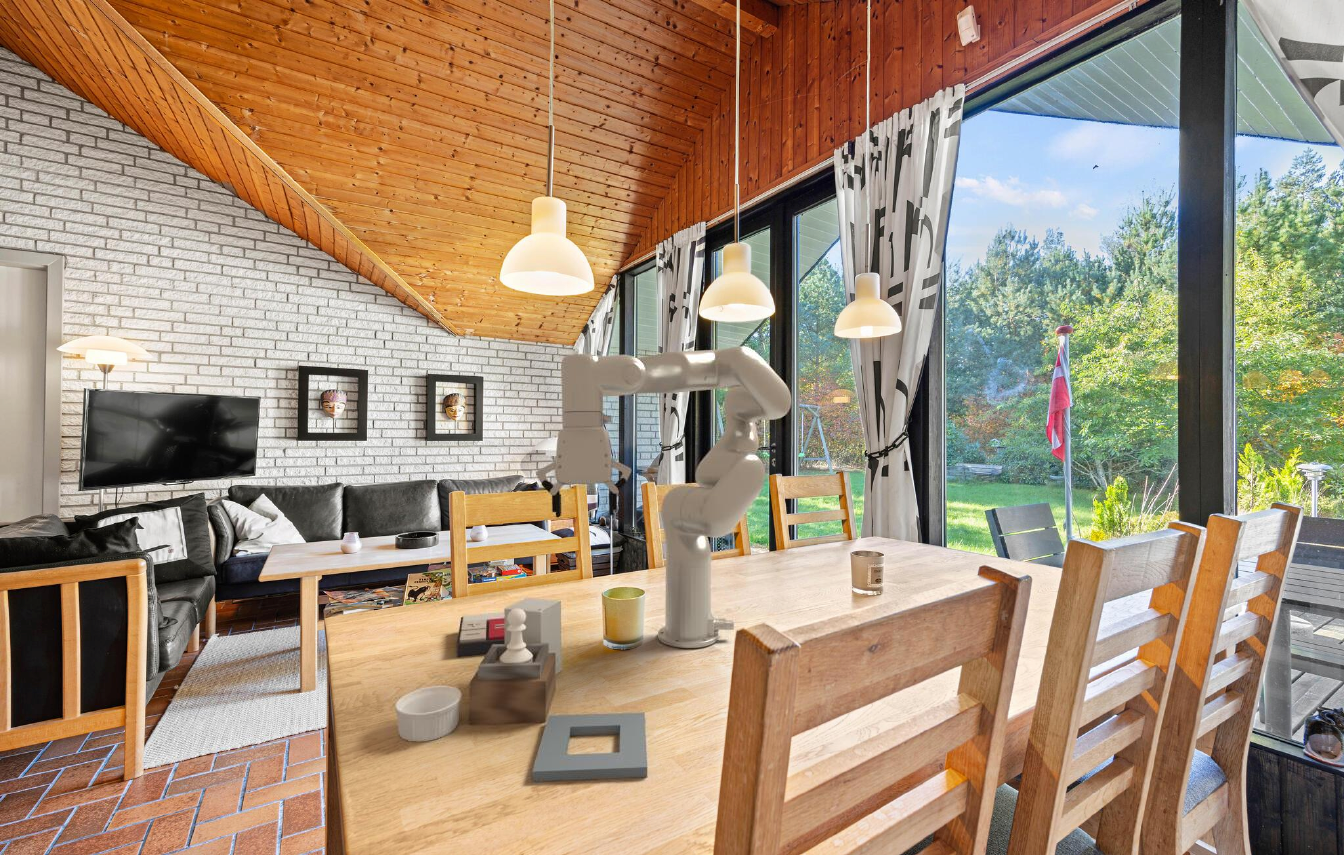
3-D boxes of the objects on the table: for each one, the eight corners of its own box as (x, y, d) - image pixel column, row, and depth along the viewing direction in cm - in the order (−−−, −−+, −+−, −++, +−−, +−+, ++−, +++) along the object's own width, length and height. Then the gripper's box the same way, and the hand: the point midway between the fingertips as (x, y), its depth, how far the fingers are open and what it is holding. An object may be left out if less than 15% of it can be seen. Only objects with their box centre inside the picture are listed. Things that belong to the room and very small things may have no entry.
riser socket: (555, 689, 95) (555, 640, 95) (545, 722, 84) (545, 667, 84) (487, 691, 94) (488, 642, 94) (469, 724, 83) (469, 669, 83)
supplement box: (562, 670, 102) (563, 600, 103) (540, 688, 95) (540, 612, 96) (527, 665, 105) (527, 596, 105) (502, 681, 98) (503, 607, 98)
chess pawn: (537, 668, 88) (537, 610, 89) (504, 675, 86) (505, 615, 86) (527, 657, 93) (527, 602, 93) (495, 664, 90) (496, 607, 90)
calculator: (456, 640, 108) (461, 612, 123) (456, 662, 108) (461, 632, 123) (516, 634, 111) (514, 608, 126) (516, 656, 112) (514, 627, 126)
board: (644, 720, 85) (644, 712, 85) (647, 776, 71) (647, 766, 71) (548, 723, 83) (548, 715, 84) (532, 781, 70) (532, 771, 70)
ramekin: (419, 752, 76) (420, 719, 76) (381, 733, 81) (381, 702, 81) (474, 724, 84) (475, 694, 84) (436, 708, 88) (436, 680, 88)
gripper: (629, 421, 109) (631, 510, 110) (538, 423, 108) (540, 513, 108) (630, 421, 102) (632, 516, 102) (532, 423, 100) (534, 520, 100)
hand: (585, 515), depth 105 cm, fingers open, 9 cm apart
